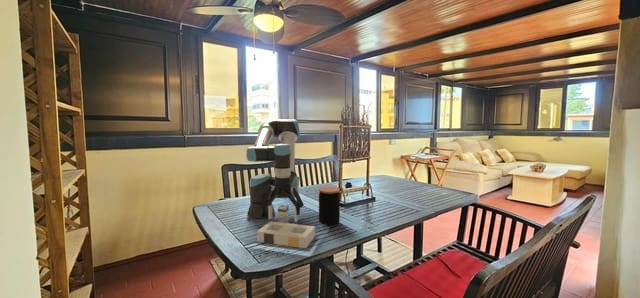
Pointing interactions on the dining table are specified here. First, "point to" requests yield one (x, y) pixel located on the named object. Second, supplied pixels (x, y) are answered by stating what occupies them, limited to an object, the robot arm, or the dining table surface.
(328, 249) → the dining table surface
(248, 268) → the dining table surface
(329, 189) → the coffee jar
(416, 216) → the dining table surface
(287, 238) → the port box
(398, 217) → the dining table surface
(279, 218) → the plug
